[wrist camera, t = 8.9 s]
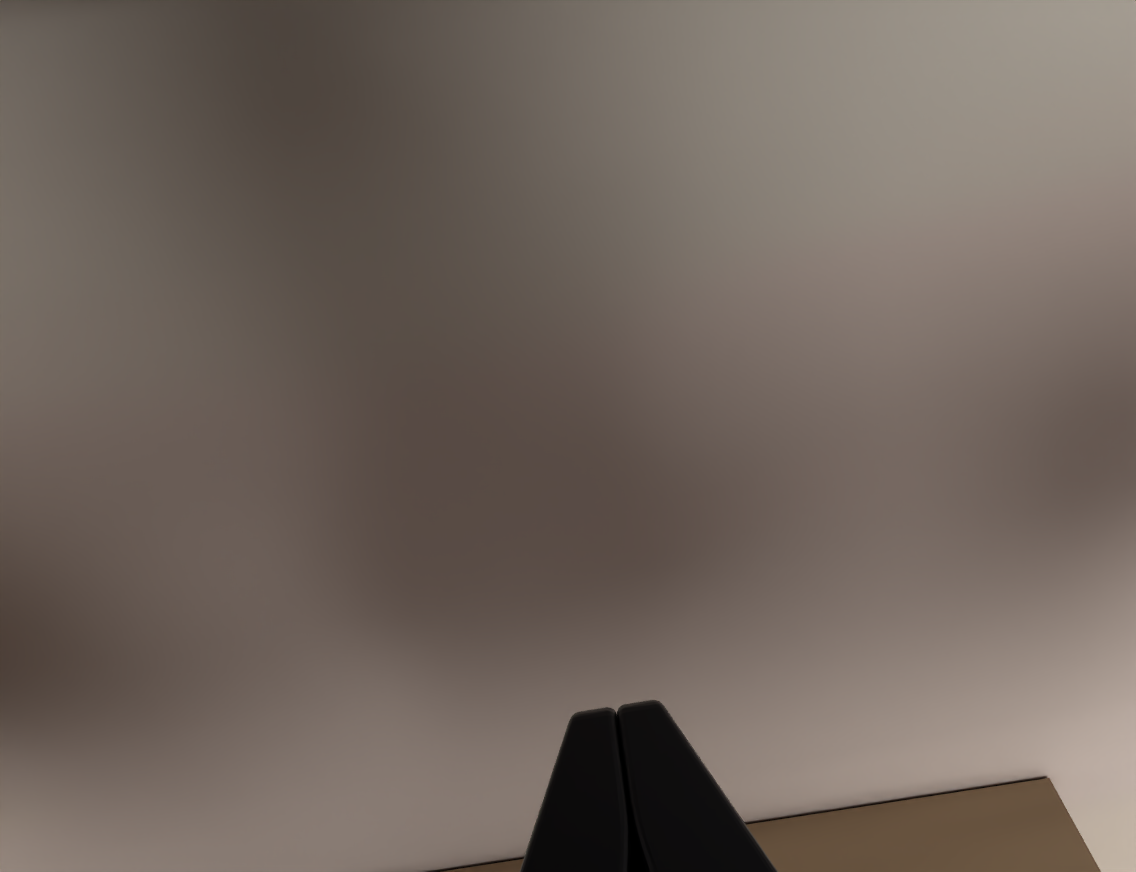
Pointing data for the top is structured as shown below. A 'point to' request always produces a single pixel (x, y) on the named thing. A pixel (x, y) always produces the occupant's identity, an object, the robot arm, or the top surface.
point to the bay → (925, 835)
